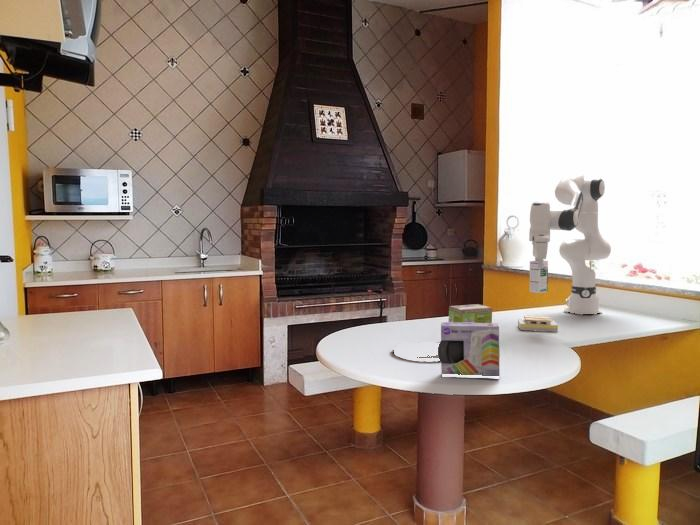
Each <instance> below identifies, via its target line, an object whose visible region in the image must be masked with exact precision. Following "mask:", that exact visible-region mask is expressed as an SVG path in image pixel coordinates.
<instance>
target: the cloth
mask: <svg viewBox="0 0 700 525" xmlns="http://www.w3.org/2000/svg"><path fill="white" fill-rule="evenodd" d="M523 319H525V321H526V323H527V324H531V322H536V324H540V322H545V323H546V324H550V322H552V320H553V319H551V318H550V317H549V316H537V315H536V316H534V315H532V316H531V315H523Z"/></svg>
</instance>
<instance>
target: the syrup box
mask: <svg viewBox="0 0 700 525" xmlns="http://www.w3.org/2000/svg"><path fill="white" fill-rule="evenodd" d="M548 281H549V261H548V260H546V259H543V266H542V269H538V260H537V261H535V260H530V261H529V292H530V293H534V294H543V293H548V292H549V288H548V286H549V282H548Z"/></svg>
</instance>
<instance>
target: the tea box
mask: <svg viewBox="0 0 700 525" xmlns="http://www.w3.org/2000/svg"><path fill="white" fill-rule="evenodd" d="M448 322H459V323H462V322H472V323H493V307H490V306H486V305H483V304H479V303H477V304H475V303H474V304H463V305H461V304H460V305H450V306H448Z"/></svg>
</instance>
